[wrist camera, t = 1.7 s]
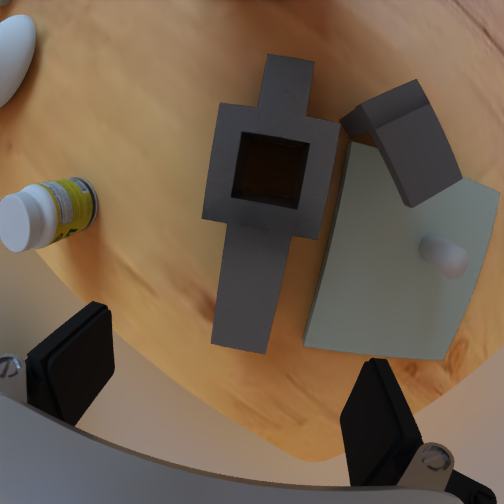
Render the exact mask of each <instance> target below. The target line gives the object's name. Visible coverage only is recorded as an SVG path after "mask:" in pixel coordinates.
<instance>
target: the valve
mask: <svg viewBox="0 0 504 504" xmlns="http://www.w3.org/2000/svg"><path fill="white" fill-rule="evenodd" d="M10 1H11V0H0V6H4V5H8V4H9V2H10Z"/></svg>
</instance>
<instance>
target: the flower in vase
mask: <svg viewBox="0 0 504 504" xmlns="http://www.w3.org/2000/svg"><path fill="white" fill-rule="evenodd" d="M35 44H36V30H35V26H34V23H33V20H32V19H31V18H30V17H29V16H27V15H15V16H11V17H9V18H7V19H5V20H4V21H2V22H1V23H0V108H1V107H2V106H3V105H4V104H6V103H7V102H8V101H9V100H10V98H11V97H12V96H13V95H14V93H15V92H16V91H17V89H18V88H19V86H20V84H21V83H22V81H23V79H24V77H25V75H26V73H27V71H28V68H29V66H30V63H31V60H32V57H33V54H34V50H35Z"/></svg>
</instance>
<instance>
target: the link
mask: <svg viewBox="0 0 504 504" xmlns="http://www.w3.org/2000/svg"><path fill="white" fill-rule="evenodd" d="M314 64H315V62H313V61H308V60H303V59H297V58H291V57H285V56H279V55H272V54H267V59H266V64H265V70H264V75H263V81H262V86H261V91H260V97H259V102H258V107H251V106H243V105H236V104H227V103H220V105H219V111H218V116H217V122H216V128H215V134H214V139H213V145H212V152H211V158H210V164H209V171H208V177H207V184H206V191H205V198H204V205H203V212H202V219H206V220H212V221H217V222H223V223H227V230H226V236H225V243H224V250H223V257H222V264H221V271H220V278H219V285H218V292H217V300H216V307H215V315H214V322H213V330H212V338H211V344H215V345H220V346H224V347H229V348H234V349H239V350H245V351H250V352H255V353H261V354H265V353H266V348H267V344H268V340H269V336H270V332H271V327H272V323H273V319H274V314H275V310H276V305H277V301H278V297H279V292H280V288H281V283H282V278H283V274H284V269H285V265H286V260H287V255H288V250H289V246H290V241H291V236H292V235H293V236H298V237H303V238H309V239H314V240H318V237H319V233H320V229H321V224H322V219H323V215H324V210H325V205H326V200H327V196H328V191H329V186H330V181H331V175H332V170H333V165H334V160H335V154H336V149H337V143H338V137H339V131H340V125H341V124H340V123H336V122H331V121H327V120H323V119H318V118H313V117H309V116H306V113H307V107H308V101H309V95H310V89H311V82H312V76H313V70H314ZM252 140H257V141H263V142H269V143H275V144H281V145H286V146H291V147H296V148H301V149H302V152H301V158H300V163H299V169H298V174H297V179H296V185H295V190H294V195H293V197H288V196H283V195H277V194H272V193H266V192H261V191H255V190H250V189H244V183H245V177H246V171H247V165H248V160H249V154H250V148H251V142H252Z"/></svg>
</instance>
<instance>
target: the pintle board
mask: <svg viewBox="0 0 504 504" xmlns="http://www.w3.org/2000/svg"><path fill="white" fill-rule="evenodd" d="M355 108H356V109H354V110H353V111H351V112H350V113H349V114H347V115H346V116H344V117H343V118H342V119H340V122H341V123H342V125H343V127H344V129H345V130H346V132H347V134H348V136H349V138H351V137H354V136H357V135H360V134H363V133H366V132H369V133H370V135H371V137H372V138H373V140H374V142H375V144H376V146H377V148H376V147H372V146H368V145H365V144H361V143H357V142H353V141H351V142H348V147H347V153H346V158H345V164H344V169H343V174H342V179H341V184H340V189H339V194H338V199H337V204H336V208H335V213H334V218H333V222H332V227H331V231H330V235H329V240H328V244H327V248H326V252H325V256H324V260H323V265H322V269H321V272H320V276H319V280H318V284H317V288H316V292H315V296H314V299H313V303H312V307H311V310H310V314H309V317H308V321H307V324H306V328H305V331H304V335H303V338H302V339H303V346H304V347H311V348H318V349H325V350H332V351H340V352H348V353H356V354H365V355H375V356H385V357H396V358H409V359H423V360H441V361H443V359H444V357H445V355H446V353H447V351H448V349H449V347H450V345H451V343H452V341H453V339H454V336H455V334H456V332H457V330H458V328H459V325H460V323H461V321H462V318H463V316H464V313H465V311H466V309H467V306H468V304H469V301H470V298H471V296H472V293H473V290H474V288H475V285H476V282H477V279H478V276H479V273H480V270H481V267H482V264H483V261H484V258H485V254H486V251H487V247H488V244H489V240H490V237H491V233H492V229H493V225H494V221H495V216H496V212H497V207H498V203H499V198H500V192H498V191H496V190H493V189H491V188H489V187H487V186H484V185H482V184H479V183H477V182H475V181H472V180H470V179H467V178H465V177H462V175H461V172H460V170H459V167H458V164H457V162H456V159H455V157H454V154H453V152H452V150H451V147H450V145H449V142H448V140H447V138H446V136H445V133H444V131H443V129H442V127H441V125H440V123H439V121H438V118H437V116H436V114H435V112H434V110H433V108H432V106H431V105H430V102H429V100H428V99H427V97H426V95H425V93H424V91H423V89H422V87H421V86H420V84H419V82H418V80H417V79H415V80H413V81H410V82H408V83H406V84H403V85H401V86H399V87H396V88H394V89H392V90H390V91H387V92H385V93H383V94H381V95H379V96H376V97H374V98H372V99H370V100H368V101H366V102H363V103H361V104H360V105H358V106H357V107H355Z"/></svg>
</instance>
